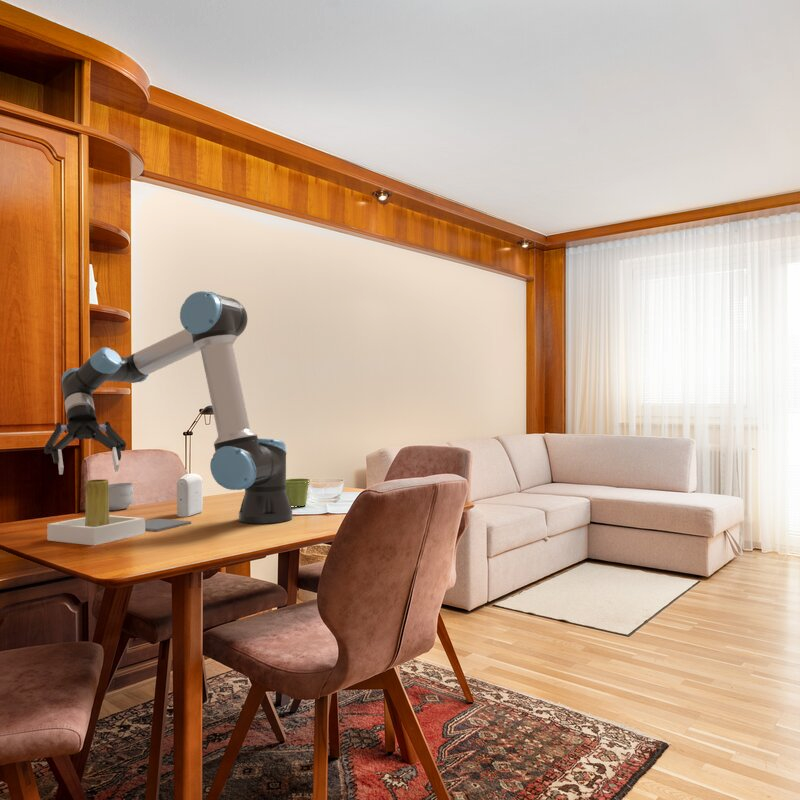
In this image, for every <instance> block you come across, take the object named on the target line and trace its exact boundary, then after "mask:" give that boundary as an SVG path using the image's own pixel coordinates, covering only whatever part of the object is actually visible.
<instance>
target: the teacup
mask: <svg viewBox="0 0 800 800" xmlns="http://www.w3.org/2000/svg"><path fill="white" fill-rule="evenodd" d="M108 488H109V511H118V510H124V509H125V510H126V509H127V508H129V507H130V505H131V504H132V503H133V502H134V483H133V482H119V483H108Z"/></svg>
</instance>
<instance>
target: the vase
mask: <svg viewBox="0 0 800 800" xmlns="http://www.w3.org/2000/svg"><path fill="white" fill-rule="evenodd" d="M108 484H109V479H105V478H104V479H103V478H102V479H88V480H86V481H85V516H84V517H85V526H88V527H98V526H103V525H108V524H110V523H109V515H110V510H109V488H108Z"/></svg>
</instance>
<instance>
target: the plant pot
mask: <svg viewBox="0 0 800 800" xmlns="http://www.w3.org/2000/svg"><path fill="white" fill-rule="evenodd" d="M310 480H311V479H310V478H288V479H287V478H286V494H287V497H288V500H289V503H290V506H299V507H300V506H304V505H306V506H307V502H308V501H307V499H308V492H307V491H309V486H308V485H310V482H311V481H310ZM308 481H309V482H308ZM305 482H306V483H305ZM308 483H309V484H308ZM304 507H305V506H304Z"/></svg>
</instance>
